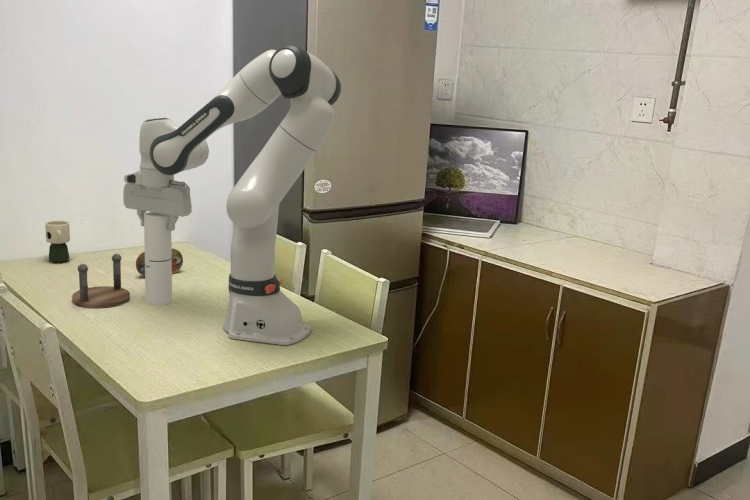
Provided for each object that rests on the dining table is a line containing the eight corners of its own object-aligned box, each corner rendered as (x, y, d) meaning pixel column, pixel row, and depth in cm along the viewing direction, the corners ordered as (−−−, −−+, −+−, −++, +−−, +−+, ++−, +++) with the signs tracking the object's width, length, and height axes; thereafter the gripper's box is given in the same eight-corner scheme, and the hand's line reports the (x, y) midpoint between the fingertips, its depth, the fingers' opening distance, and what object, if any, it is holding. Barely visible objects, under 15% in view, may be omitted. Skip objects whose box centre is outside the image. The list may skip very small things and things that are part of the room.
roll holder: (141, 296, 198) (141, 256, 195) (103, 312, 184) (101, 269, 181) (100, 288, 203) (98, 249, 200) (59, 302, 189) (57, 261, 186)
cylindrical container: (164, 306, 191) (163, 218, 185) (140, 303, 192) (138, 215, 186) (176, 298, 198) (175, 213, 192) (153, 295, 199) (152, 210, 193)
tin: (139, 279, 213) (138, 253, 211) (134, 277, 216) (134, 251, 214) (183, 272, 224) (183, 247, 222) (178, 270, 226) (178, 245, 224)
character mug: (45, 257, 230) (43, 219, 227) (68, 256, 233) (67, 218, 230) (49, 266, 221) (46, 226, 217) (73, 264, 224) (71, 225, 221)
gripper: (196, 181, 186) (196, 231, 189) (134, 173, 193) (135, 221, 196) (182, 184, 180) (182, 235, 184) (118, 175, 187) (120, 225, 190)
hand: (157, 228), depth 190 cm, fingers closed on cylindrical container, 7 cm apart
